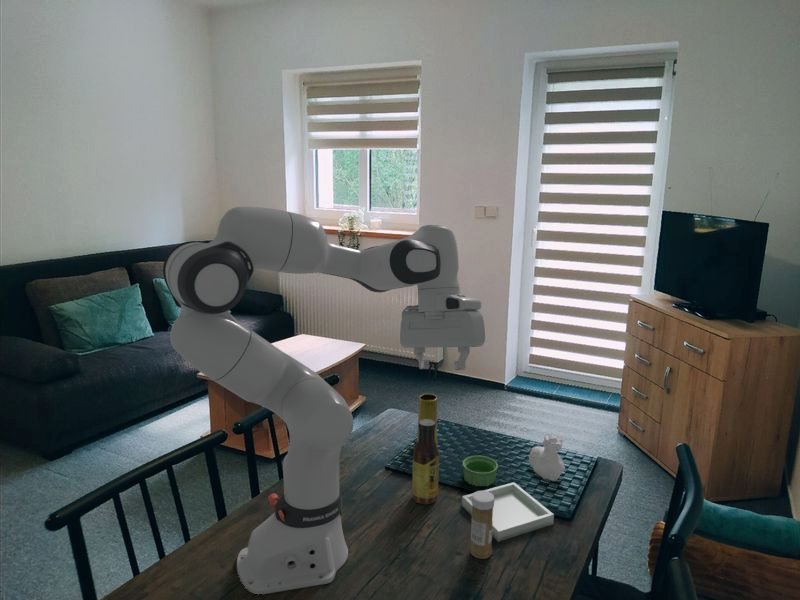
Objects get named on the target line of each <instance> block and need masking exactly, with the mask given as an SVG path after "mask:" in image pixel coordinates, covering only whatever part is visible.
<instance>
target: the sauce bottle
mask: <svg viewBox="0 0 800 600" xmlns="http://www.w3.org/2000/svg"><path fill="white" fill-rule="evenodd" d="M418 427H419V437H418V438H419V440H418V442H417V441H416V443H415V445H414V447H413V457H412V481H411V482H412V484H411V485H412V487H411V493H412V499H413V501H414V502H416V503H418V504H421V505H429V504H433V503H435V502H436V501H437V498H438V493H439V469H440V467H439V466H440V452H439V449H438V446H437V445H438V444H437V445H436V442H435V437H434V433H435V422H434V421H433V420H430V419H423V420H420V421H419V423H418V422H417V428H418Z"/></svg>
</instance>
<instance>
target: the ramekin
mask: <svg viewBox="0 0 800 600" xmlns="http://www.w3.org/2000/svg"><path fill="white" fill-rule="evenodd" d="M462 468H463V478H464V481H465V482H466V483H467V482H468V483H467V484H469V485H471V484H472V485H471V486H473V485H475V486H474V487H477V486H486V487H489V485H490V486H491V484H492V485H493V484H494V483H495V481H496V476H497V471H498V468H499V465H498V463H497V461H496V460H494V459H493V458H491V457H489V456H485V455H471V456H467V457H466V458H465V459H463V461H462Z"/></svg>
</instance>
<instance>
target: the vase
mask: <svg viewBox="0 0 800 600" xmlns="http://www.w3.org/2000/svg"><path fill="white" fill-rule="evenodd" d="M417 415H418V416H417V417H418V418H417V424H418V423H419V421H420V420H423V419H430V420H433V421H434V422H435V433H434V437H435V442H436V445H438V443H439V442H438V396H437V395H436V394H434V393H421V394H420V395H419V397H418V414H417ZM416 432H417V433H416V435H417V436H416V443H417V442H418V440H419V438H418V437H419V427H418V426H417V431H416Z"/></svg>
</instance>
